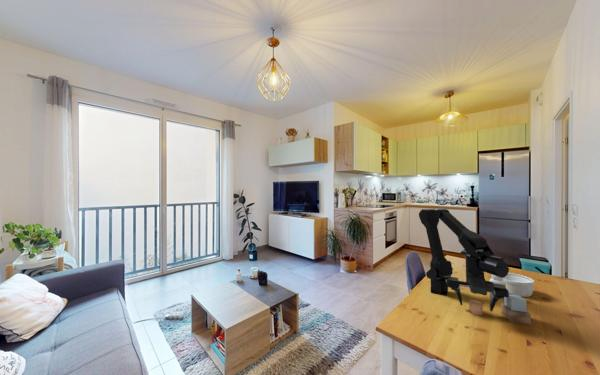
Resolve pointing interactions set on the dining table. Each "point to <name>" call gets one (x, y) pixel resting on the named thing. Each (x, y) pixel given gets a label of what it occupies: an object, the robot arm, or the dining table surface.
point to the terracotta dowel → (475, 307)
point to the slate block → (516, 303)
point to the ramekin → (519, 285)
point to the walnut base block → (516, 315)
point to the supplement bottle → (497, 280)
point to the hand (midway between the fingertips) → (475, 307)
